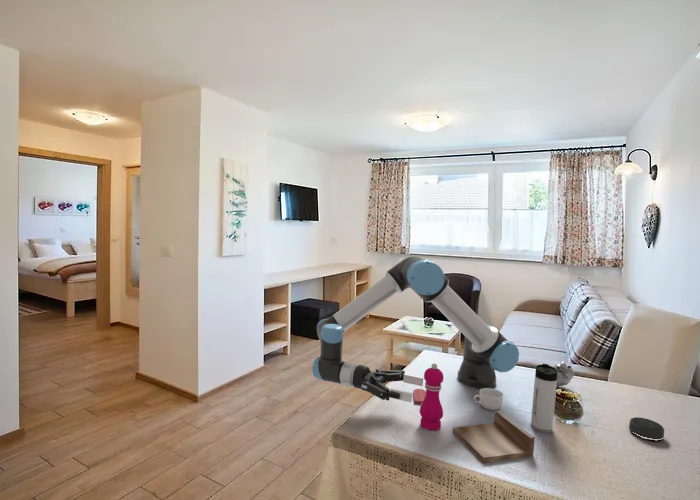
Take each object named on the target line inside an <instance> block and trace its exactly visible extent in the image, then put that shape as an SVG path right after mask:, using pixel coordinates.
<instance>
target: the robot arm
mask: <svg viewBox="0 0 700 500" xmlns="http://www.w3.org/2000/svg"><path fill="white" fill-rule="evenodd" d="M449 281H450V280H449V278H448V277H447V276H446V275H445V274H444V271H443V269H442V267H440V265H439V264H437V263H436V262H435V261H432V260H431V259H425V258H421V257H420V256H409V257H405V258H404V259H402V260H401V261H400V262H398V263H396V264H395V265H393V266H392V267H391V268H389V270H387V271H386V272H385V276H384V277H382V278H381V279H380V280H378V281H376V283H374V284H373V285H371V287H369V288H367V289H366V290H365V291H364V292H363V293H361V294H359V295H358V296H356V298H354V299H352V300H351V301H350V302H349V303H347V304H346V305H345V306H343V307H342V308H340V310H338V311H337V312H335V313H334V314H333V315H331V316H330V317H328V318H324V319H321V320H320V321H319V322H318V323H317V325H316V334H317V337H318V340H319V343H320V355H319V356H317V357H316V358H315V359H314V361H313V363H312V364H313V365H312V367H311V373H312V375H313V377H315V379H318V380H321V381H324V382H330V383H335V384H339V385H343V386H346V387H351V388H353V387H354V388H356V389H360V390H362V391H365V392H368V393H370V395H373V396H375V397H377V398H379V399H380V400H383V401H390V398H391V399H395V400H398V401H403V402H406V403H407V402H408V403H411V402H412V396H413V392H409V391H405V390H401V389H397V388H393V387H391V388H388V386H386V385H385V384H386V383H389V382H390V383H391V382H403V383H406V384H411V385H414V386H420V387H423V386H424V376H423V377H422V376H417V375H413V374H407V373H406V371H405V370H403V369H402V370H401V369H400V370H399V369H398V370H397V369H396V370H395V369H392V370H391V369H381V368H376V369H375V371H374V372H373V371H371V369H370V367H369V366H368V365H367V366H366V365H361V364H357V363H354V362H348V361H344V360H343V339H344V333H345V332H346V331H347V330H348V329H350V328H351V327H353V325H355V324H357V322H360V320H362V319H363V318H364V317H366V316H367V315H369V314H370V313H371V312H373V311H374V310H375V309H376V308H378V307H379V306H381V305H383V303H384V302H386V301H387V300H389V299H390V298H391V297H392V296H394V295H395V294H396V293H400V294H401V293H403V292H404V291H406V290H408V289H409V288H410V289H411V290H413V291H414V293H415V294H417V295H418V297H420V298H421V299H422V300H423V302H425V303H431V304H432V305H433V306H434V307H435V308H436V309H437V310H438V311H440V312H441V314H442V315H443V316H445V317H446V319H447V320H448V322H450V323H451V324H452V325H453V326H454V327H455V328H456V329H457V330H458V331H459V332H460V333H461V334H463V336H464V344H463V358H462V362H461V365H460V367H459V369H458V371H457V380H458V381H459V382H461V383H462V384H464V385H467V386H469V387H473V388H474V387H475V388H479V389H483V388H492V387H495V386H496V385H497V374H496V372H497V373H498V372H499V373H507V372H510V371H511V370H513V368H515V367H516V366H517V364H518V362H519V359H520V358H519V357H520V352H519V347H518V346H517V345H516V344H515V343H514V342H512V341H510V340H508V339H507V338H506V337H505V336H504V335H503V334H502V333H501V331H499V330H498V329H497V328H496V327H495V326H493V325H489V324H486V323H485V321H484V320H482V318H481V317H479V315H478V314H477V313H476V312H475V311H474V310H473V309H472V308H471V307H470V306H469V305H468V304H467V303H466V302H465V301H464V300H463V299H462V298H461V296H460V295H458V293H456V292H455V291H454V290H453V289H452V288H451V286H450V285H449V284H450V283H449Z"/></svg>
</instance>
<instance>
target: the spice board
mask: <svg viewBox="0 0 700 500" xmlns="http://www.w3.org/2000/svg"><path fill="white" fill-rule="evenodd" d="M452 433H453V434H454V435H455V436H456V437H457V438H458V439H459V441H461V443H463V444H464V445H465V446H466V448H468V449H469V450H470V451H471V452H472V454H474V455H475V456H476V457H477V458H478V459H479V460H480V462H481V463H482V464H485V462H487V463H493V461H495V462H500V461H508V460H516V459H522V458H524V459H525V458H530V457H534V452H535V451H534V450H535V440H536V437H535V436H534V435H533V434H531V433H530V432H529V431H527V430H526V429H525V428H523V427H521V426H520V425H519V424H517V423H516V421H514V420H513V419H511V418H510V417H509V416H507V415H506V414H504V413H503V412H502V411H501V410H494V418H493V422H492V423H482V424H474V425H465V426H463V425H462V426H454V427H452Z"/></svg>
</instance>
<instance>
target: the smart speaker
mask: <svg viewBox="0 0 700 500" xmlns="http://www.w3.org/2000/svg"><path fill="white" fill-rule="evenodd" d="M628 429H630V430H631V431H632V432H634V433H636V434H638V435H640V436H643V437H647V438H652V439H661V438H663V437H664V438H665V428H664V427H663V425H662V424H660V423H658V422H656V421H654V420H652V419H650V418H649V419H648V418H646V417H645V418H644V417H639V416H638V417H637V416H636V417H632V418H630V420H629V424H628ZM630 430H629V431H630ZM631 431H630V432H631ZM632 432H631V433H632ZM664 438H663V439H664Z"/></svg>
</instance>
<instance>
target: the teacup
mask: <svg viewBox="0 0 700 500" xmlns="http://www.w3.org/2000/svg"><path fill="white" fill-rule="evenodd" d="M476 398H479V400H476ZM503 398H504V393H503V392H502V391H500V390H498V389H495V388H492V387H490V388H479V393H478V394H476V395H474V396H473V400H474V401H475V403H478V404H480V405H481V407H483V408H484V409H486V410H489V411H498V410H499V409H500V408H501V406H502V405H503V400H504V399H503Z"/></svg>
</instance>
